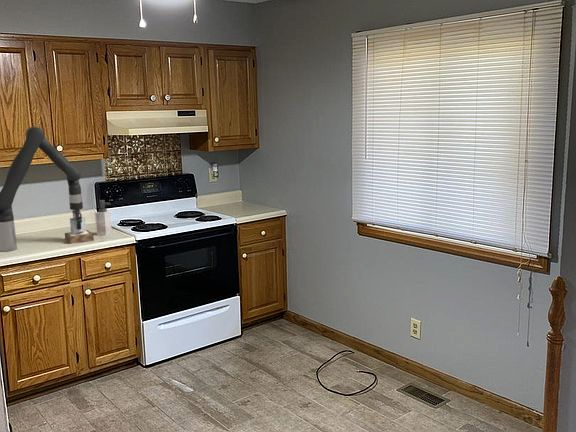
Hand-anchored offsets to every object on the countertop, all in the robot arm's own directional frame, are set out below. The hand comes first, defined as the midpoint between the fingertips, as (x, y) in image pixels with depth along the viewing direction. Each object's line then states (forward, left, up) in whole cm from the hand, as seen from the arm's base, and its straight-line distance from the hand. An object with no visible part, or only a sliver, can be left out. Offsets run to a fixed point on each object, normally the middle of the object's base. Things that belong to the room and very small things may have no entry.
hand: (78, 228), depth 356 cm
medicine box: (0, 0, -2) cm, 2 cm away
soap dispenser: (+18, +6, -8) cm, 20 cm away
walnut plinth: (0, 0, -7) cm, 7 cm away
